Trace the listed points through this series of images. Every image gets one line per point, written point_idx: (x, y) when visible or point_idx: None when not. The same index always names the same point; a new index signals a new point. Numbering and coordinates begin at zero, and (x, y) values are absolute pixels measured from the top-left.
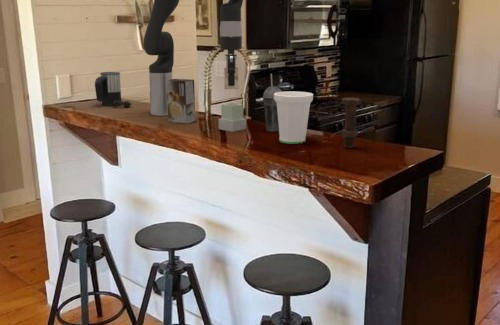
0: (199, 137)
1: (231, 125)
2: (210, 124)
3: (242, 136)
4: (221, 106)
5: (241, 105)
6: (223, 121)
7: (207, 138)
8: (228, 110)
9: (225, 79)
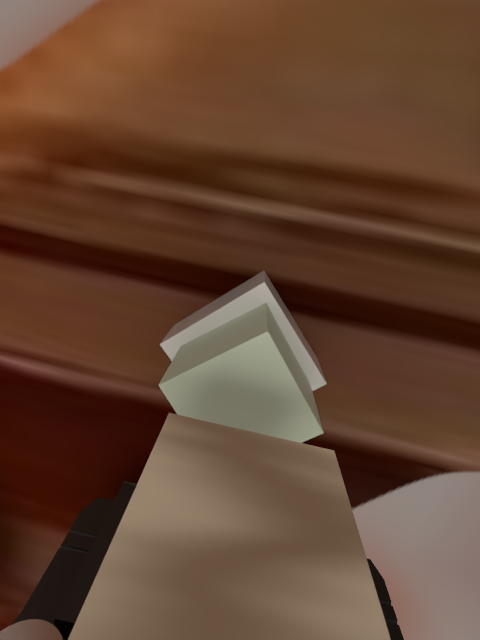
0: (58, 111)
1: (173, 331)
2: (415, 253)
3: (54, 341)
4: (266, 326)
5: None
6: (226, 302)
7: (27, 154)
8: (197, 354)
9: (127, 514)
